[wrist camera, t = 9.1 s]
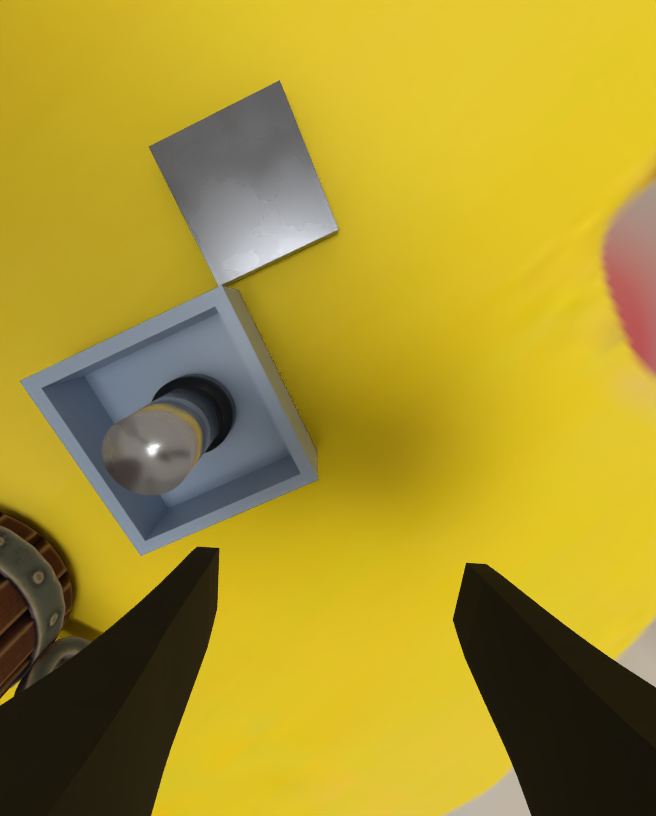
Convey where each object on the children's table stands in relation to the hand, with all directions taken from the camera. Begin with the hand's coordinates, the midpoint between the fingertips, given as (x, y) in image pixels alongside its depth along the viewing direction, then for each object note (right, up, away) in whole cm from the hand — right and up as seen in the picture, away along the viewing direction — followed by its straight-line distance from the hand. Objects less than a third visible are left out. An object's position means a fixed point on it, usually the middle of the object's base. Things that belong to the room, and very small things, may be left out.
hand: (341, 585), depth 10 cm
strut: (-7, +5, +8) cm, 12 cm away
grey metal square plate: (-4, +15, +6) cm, 17 cm away
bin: (-7, +5, +9) cm, 12 cm away
